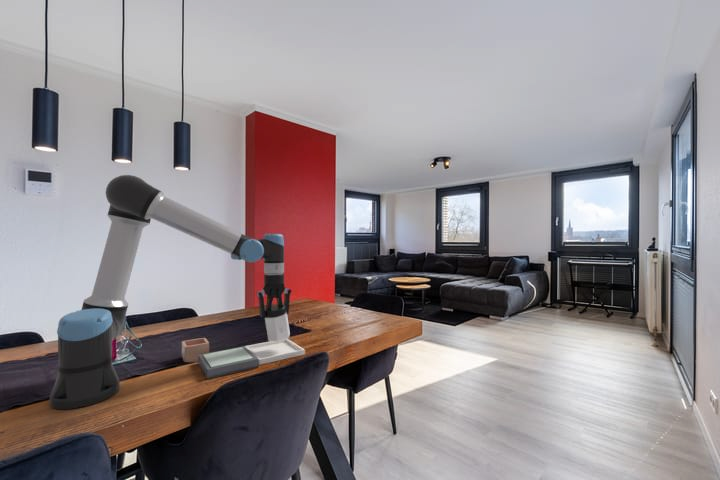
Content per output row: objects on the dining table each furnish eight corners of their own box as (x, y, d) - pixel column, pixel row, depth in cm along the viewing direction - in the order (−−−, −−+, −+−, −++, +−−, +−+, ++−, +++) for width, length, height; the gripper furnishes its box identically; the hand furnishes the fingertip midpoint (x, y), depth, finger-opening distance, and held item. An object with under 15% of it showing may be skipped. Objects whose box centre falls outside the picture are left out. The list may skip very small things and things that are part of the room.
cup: (184, 364, 116) (184, 347, 116) (181, 357, 123) (181, 341, 122) (209, 359, 121) (209, 343, 121) (205, 353, 127) (205, 337, 127)
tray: (259, 364, 115) (259, 359, 115) (244, 350, 130) (244, 346, 130) (305, 354, 126) (305, 349, 126) (286, 342, 140) (286, 338, 140)
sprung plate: (211, 369, 105) (211, 366, 105) (203, 357, 116) (203, 354, 116) (253, 360, 113) (253, 357, 113) (241, 350, 124) (241, 347, 124)
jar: (272, 344, 123) (268, 313, 121) (264, 338, 129) (259, 309, 128) (294, 336, 128) (290, 306, 127) (285, 331, 134) (281, 302, 133)
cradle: (207, 379, 104) (207, 369, 104) (198, 363, 117) (198, 355, 117) (258, 367, 113) (258, 358, 113) (244, 354, 126) (244, 346, 126)
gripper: (256, 276, 120) (256, 340, 120) (297, 273, 129) (298, 332, 129) (249, 274, 126) (250, 335, 126) (290, 271, 135) (290, 328, 136)
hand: (274, 334), depth 128 cm, fingers closed on jar, 3 cm apart
